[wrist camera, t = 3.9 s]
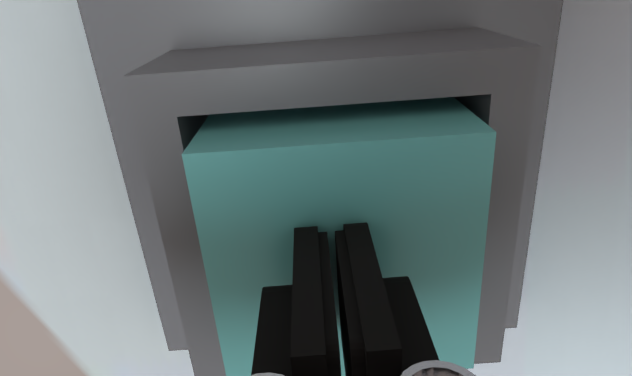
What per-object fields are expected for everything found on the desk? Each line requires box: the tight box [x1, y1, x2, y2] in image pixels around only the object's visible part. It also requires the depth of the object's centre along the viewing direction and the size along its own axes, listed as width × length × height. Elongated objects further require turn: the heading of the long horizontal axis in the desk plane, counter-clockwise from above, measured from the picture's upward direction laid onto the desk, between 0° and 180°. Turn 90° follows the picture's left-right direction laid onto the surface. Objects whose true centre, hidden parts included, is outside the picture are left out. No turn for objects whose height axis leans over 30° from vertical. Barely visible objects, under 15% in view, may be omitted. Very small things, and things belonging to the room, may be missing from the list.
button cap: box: [182, 97, 496, 376], centre depth 13 cm, size 6×6×4 cm
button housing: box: [77, 0, 563, 376], centre depth 14 cm, size 14×14×5 cm
